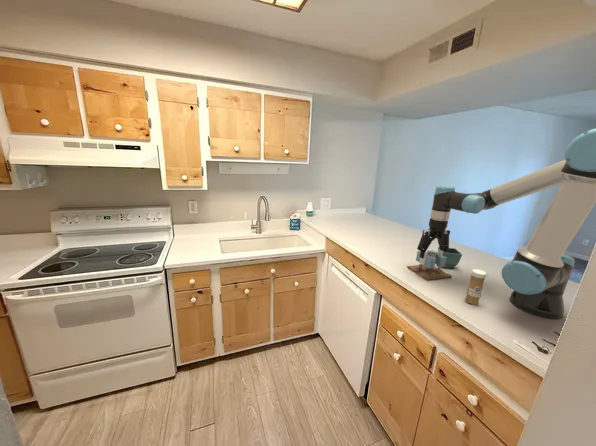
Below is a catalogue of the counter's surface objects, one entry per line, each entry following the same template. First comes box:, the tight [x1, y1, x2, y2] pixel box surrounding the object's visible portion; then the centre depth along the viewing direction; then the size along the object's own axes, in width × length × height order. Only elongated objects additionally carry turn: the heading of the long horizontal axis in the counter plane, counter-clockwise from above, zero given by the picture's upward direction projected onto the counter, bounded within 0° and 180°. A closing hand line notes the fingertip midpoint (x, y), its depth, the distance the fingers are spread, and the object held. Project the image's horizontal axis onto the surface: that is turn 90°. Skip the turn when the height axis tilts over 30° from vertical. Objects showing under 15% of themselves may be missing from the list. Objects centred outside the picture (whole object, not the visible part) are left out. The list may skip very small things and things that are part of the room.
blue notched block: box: [415, 249, 447, 268], centre depth 118 cm, size 9×9×5 cm
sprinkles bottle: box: [464, 268, 487, 306], centre depth 95 cm, size 5×5×13 cm
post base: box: [407, 253, 453, 282], centre depth 119 cm, size 14×14×10 cm
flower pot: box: [437, 246, 463, 269], centre depth 128 cm, size 9×9×9 cm
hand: (430, 263), depth 119 cm, fingers closed on blue notched block, 9 cm apart
